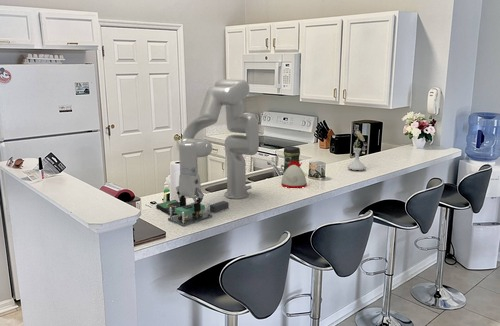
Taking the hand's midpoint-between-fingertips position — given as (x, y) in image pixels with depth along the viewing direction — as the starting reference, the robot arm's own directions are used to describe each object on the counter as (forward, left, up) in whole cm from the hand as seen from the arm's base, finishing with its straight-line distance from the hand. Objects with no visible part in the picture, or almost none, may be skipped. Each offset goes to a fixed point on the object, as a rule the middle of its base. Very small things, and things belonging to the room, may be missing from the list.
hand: (190, 209), depth 191 cm
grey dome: (-75, +1, -5) cm, 75 cm away
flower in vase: (-133, +8, -5) cm, 133 cm away
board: (0, 0, -1) cm, 1 cm away
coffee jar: (-90, -12, -5) cm, 91 cm away
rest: (-17, +1, -4) cm, 18 cm away
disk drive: (-3, -15, -5) cm, 17 cm away
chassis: (0, 0, -4) cm, 4 cm away
